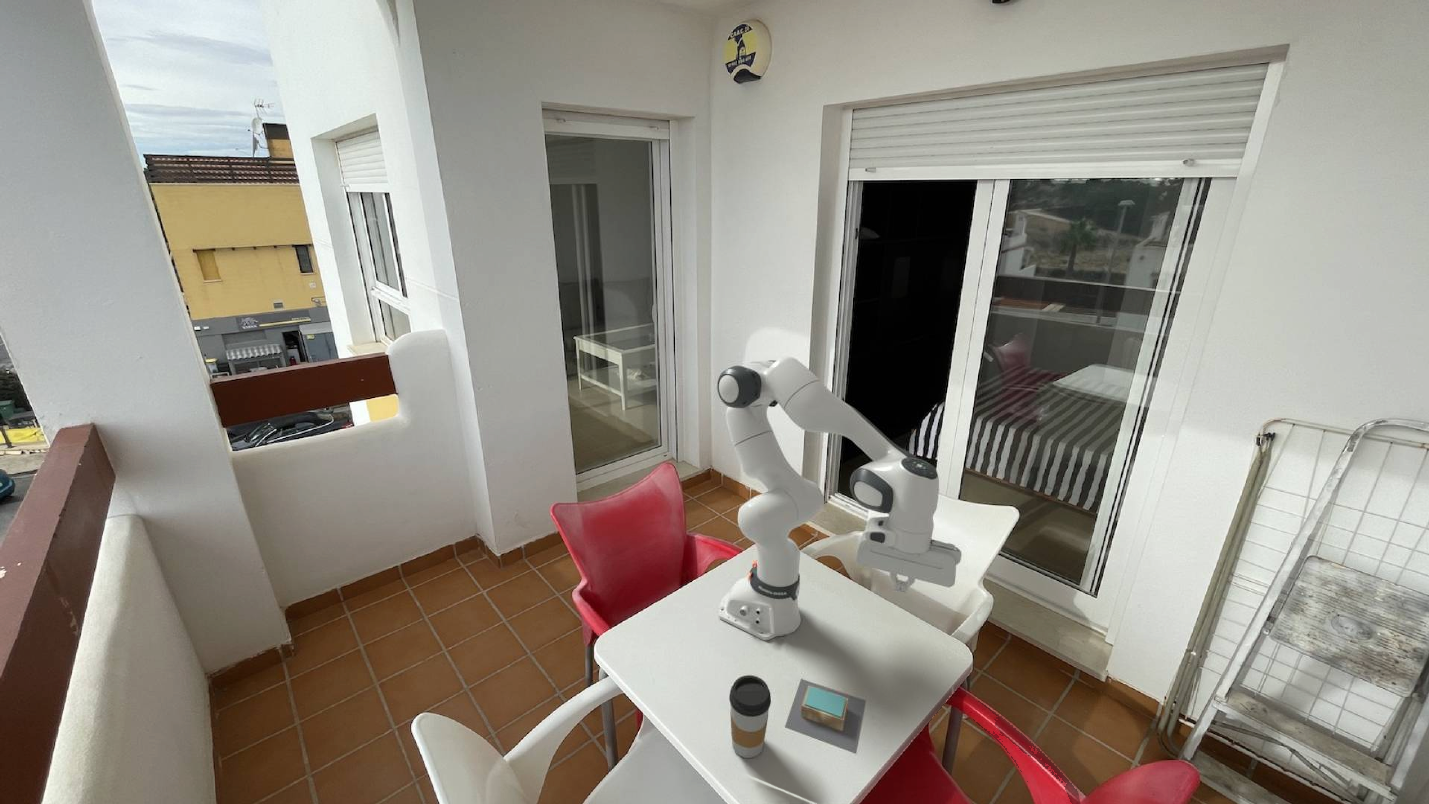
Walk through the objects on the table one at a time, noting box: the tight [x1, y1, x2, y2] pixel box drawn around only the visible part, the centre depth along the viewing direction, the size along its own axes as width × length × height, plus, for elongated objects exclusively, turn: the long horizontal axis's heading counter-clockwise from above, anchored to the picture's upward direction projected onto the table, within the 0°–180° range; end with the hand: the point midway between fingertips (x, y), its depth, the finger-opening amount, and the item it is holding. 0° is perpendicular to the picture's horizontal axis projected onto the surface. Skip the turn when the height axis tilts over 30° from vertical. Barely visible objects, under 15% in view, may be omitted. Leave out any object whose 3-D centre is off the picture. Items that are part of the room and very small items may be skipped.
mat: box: [784, 678, 866, 754], centre depth 120 cm, size 15×14×1 cm
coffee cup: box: [728, 674, 772, 759], centre depth 110 cm, size 8×8×15 cm
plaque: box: [801, 685, 848, 731], centre depth 119 cm, size 3×6×9 cm
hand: (900, 589), depth 117 cm, fingers closed
